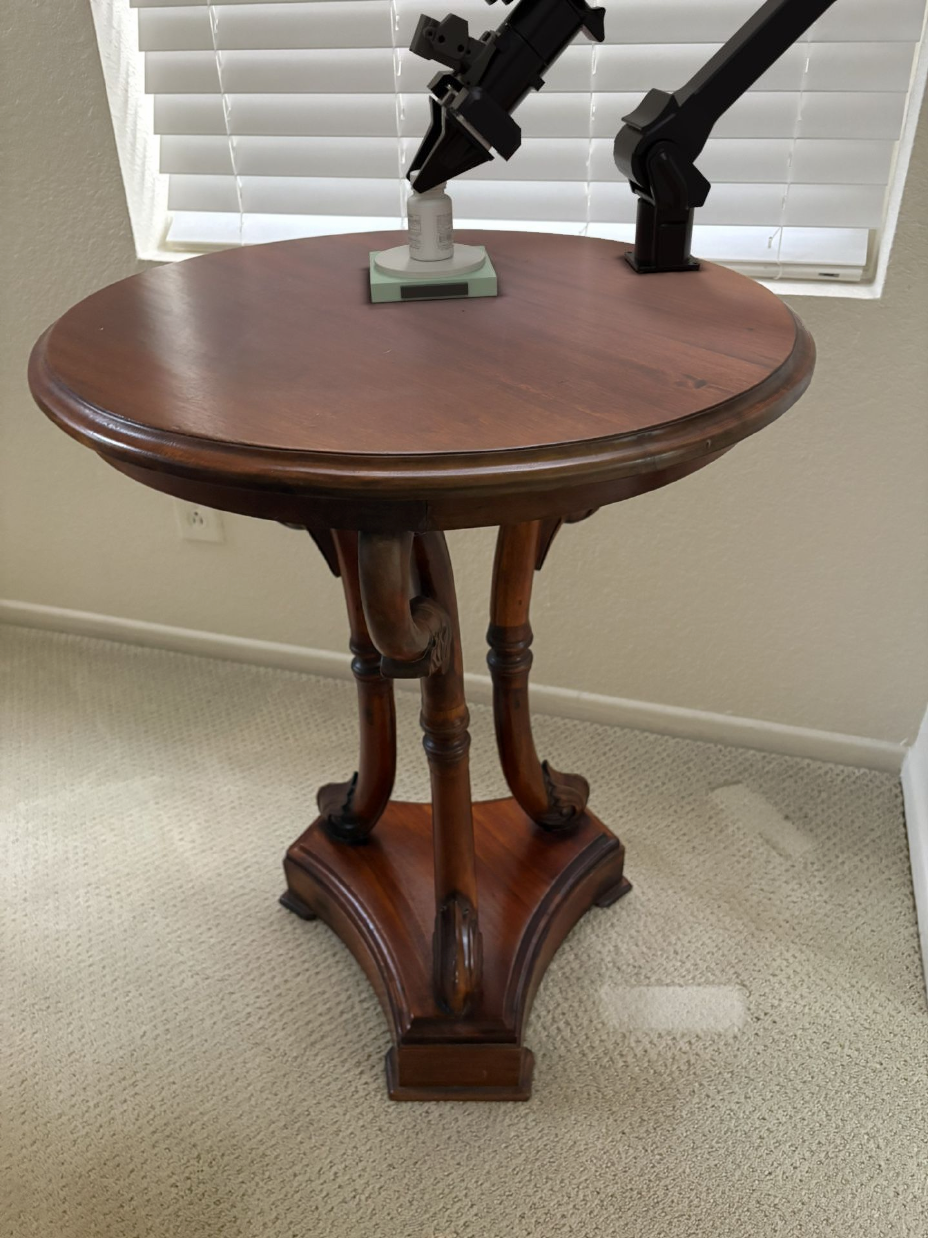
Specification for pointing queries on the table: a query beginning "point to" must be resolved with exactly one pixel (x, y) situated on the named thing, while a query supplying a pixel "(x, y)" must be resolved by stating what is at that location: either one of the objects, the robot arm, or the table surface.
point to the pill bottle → (430, 223)
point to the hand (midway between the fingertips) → (412, 185)
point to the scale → (431, 275)
